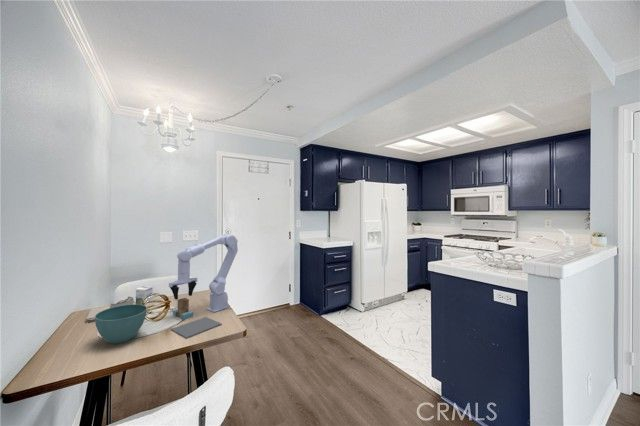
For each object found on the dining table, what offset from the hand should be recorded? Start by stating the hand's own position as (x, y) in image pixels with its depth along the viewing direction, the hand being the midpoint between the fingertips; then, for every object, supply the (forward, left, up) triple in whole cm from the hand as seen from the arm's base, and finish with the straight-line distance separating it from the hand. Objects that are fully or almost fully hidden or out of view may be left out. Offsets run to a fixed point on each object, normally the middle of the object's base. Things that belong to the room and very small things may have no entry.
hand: (183, 297), depth 139 cm
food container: (+20, -19, -10) cm, 29 cm away
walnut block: (0, 0, -10) cm, 10 cm away
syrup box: (+11, -20, -10) cm, 25 cm away
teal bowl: (+29, +4, -10) cm, 31 cm away
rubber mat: (+3, +19, -10) cm, 22 cm away
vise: (0, -3, -10) cm, 11 cm away
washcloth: (+25, -35, -11) cm, 44 cm away
